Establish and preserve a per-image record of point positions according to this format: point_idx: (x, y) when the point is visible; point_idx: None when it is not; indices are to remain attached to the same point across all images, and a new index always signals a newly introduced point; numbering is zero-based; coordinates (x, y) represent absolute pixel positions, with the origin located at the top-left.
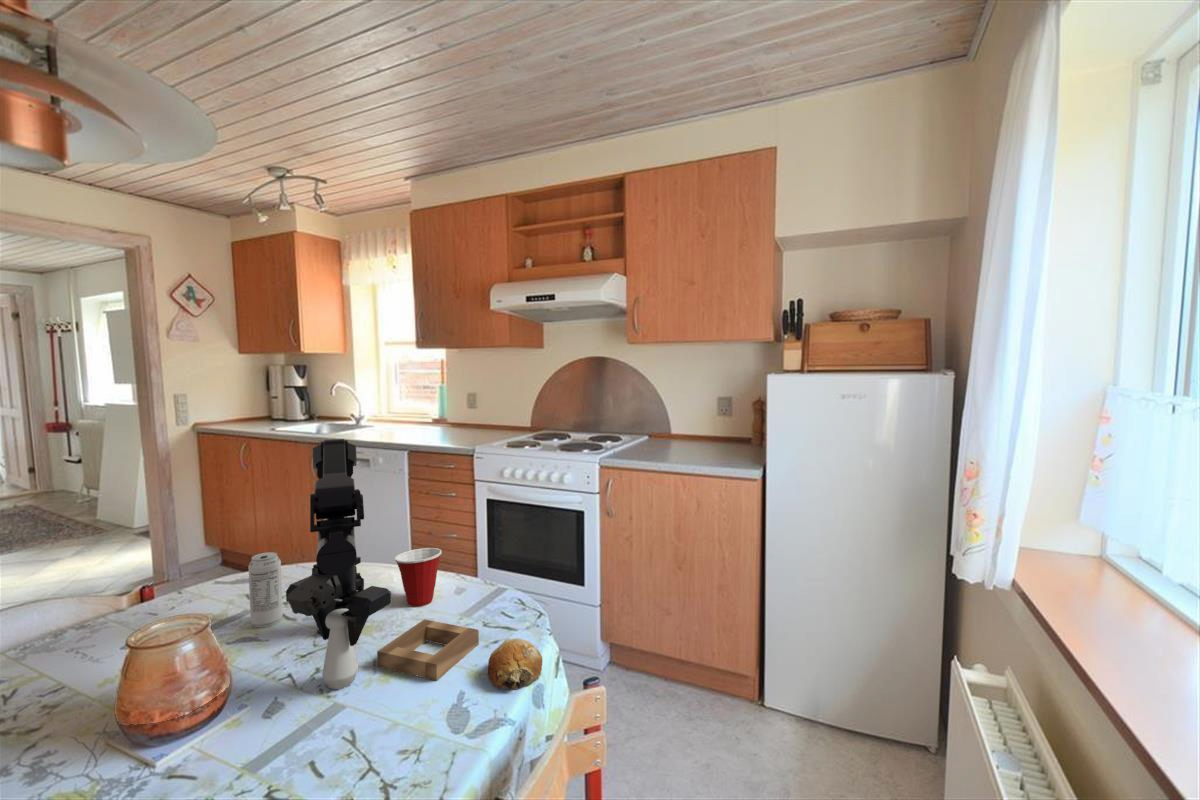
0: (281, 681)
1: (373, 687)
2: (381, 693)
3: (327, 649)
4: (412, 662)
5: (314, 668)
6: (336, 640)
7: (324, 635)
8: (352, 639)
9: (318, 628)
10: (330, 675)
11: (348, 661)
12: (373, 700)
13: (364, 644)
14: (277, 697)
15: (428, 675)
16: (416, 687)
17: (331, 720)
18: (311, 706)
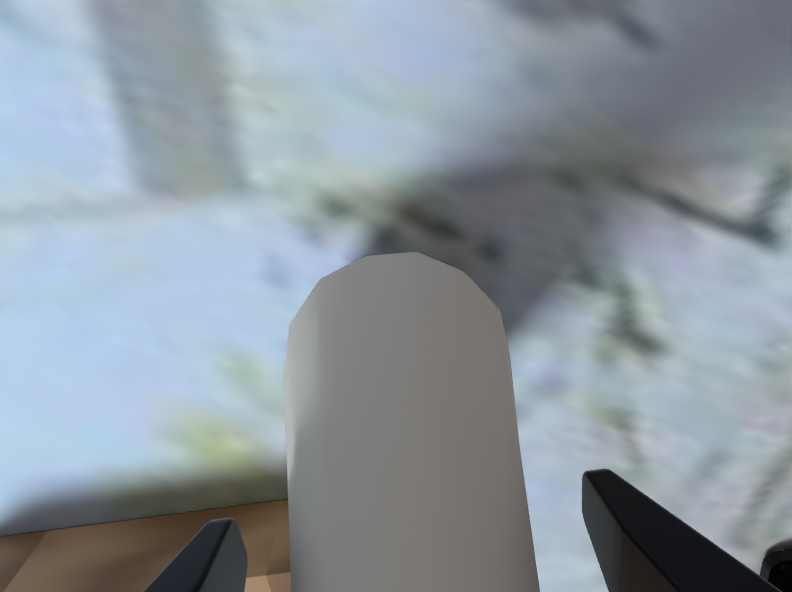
0: (757, 167)
1: (196, 375)
2: (104, 361)
3: (452, 396)
4: (91, 580)
5: (669, 339)
6: (337, 504)
7: (605, 507)
8: (149, 588)
9: (728, 556)
10: (358, 276)
11: (287, 407)
12: (76, 303)
13: (593, 570)
14: (634, 41)
15: (16, 547)
16: (6, 468)
17: (82, 57)
18: (337, 90)
